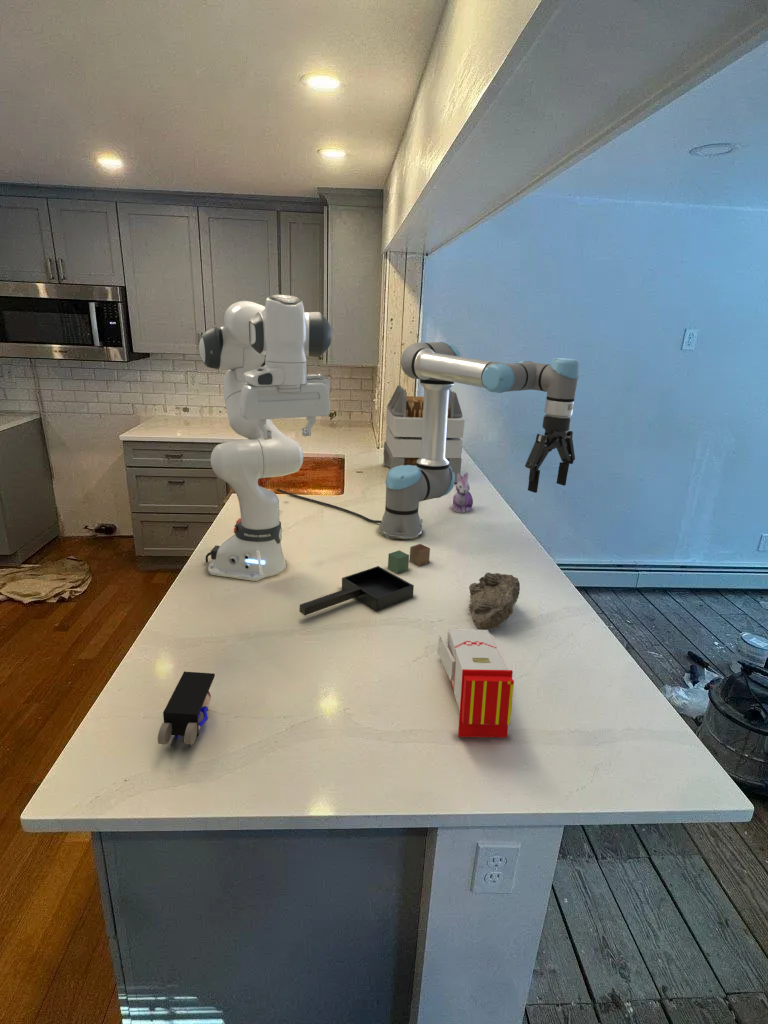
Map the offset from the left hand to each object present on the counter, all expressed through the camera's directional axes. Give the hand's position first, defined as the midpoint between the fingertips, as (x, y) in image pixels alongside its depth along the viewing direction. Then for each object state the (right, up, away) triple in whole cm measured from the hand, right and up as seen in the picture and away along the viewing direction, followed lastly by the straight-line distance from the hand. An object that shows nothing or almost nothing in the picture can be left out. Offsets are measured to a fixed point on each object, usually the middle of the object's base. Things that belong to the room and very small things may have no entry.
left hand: (287, 437), depth 128 cm
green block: (+26, -34, +45) cm, 62 cm away
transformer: (+39, +2, +147) cm, 152 cm away
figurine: (+53, -16, +99) cm, 114 cm away
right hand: (+70, -10, +38) cm, 80 cm away
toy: (+40, -54, -9) cm, 68 cm away
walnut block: (+33, -33, +50) cm, 69 cm away
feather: (-18, -18, +85) cm, 89 cm away
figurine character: (-14, -57, -23) cm, 63 cm away
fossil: (+51, -43, +23) cm, 70 cm away
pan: (+13, -41, +24) cm, 50 cm away
